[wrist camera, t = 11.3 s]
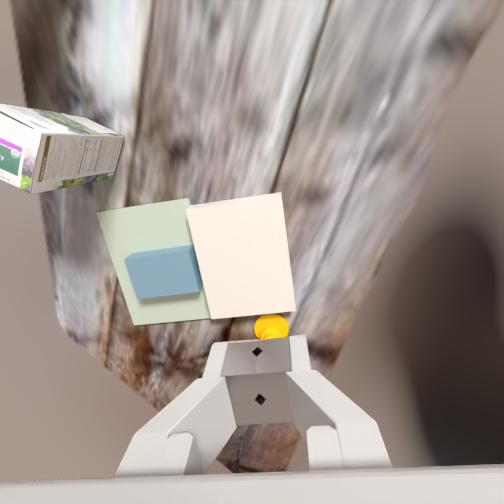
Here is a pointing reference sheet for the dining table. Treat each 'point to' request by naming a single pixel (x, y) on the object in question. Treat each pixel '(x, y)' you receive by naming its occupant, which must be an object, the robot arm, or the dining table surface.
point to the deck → (243, 255)
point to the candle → (271, 326)
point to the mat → (146, 239)
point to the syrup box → (54, 149)
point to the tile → (164, 272)
